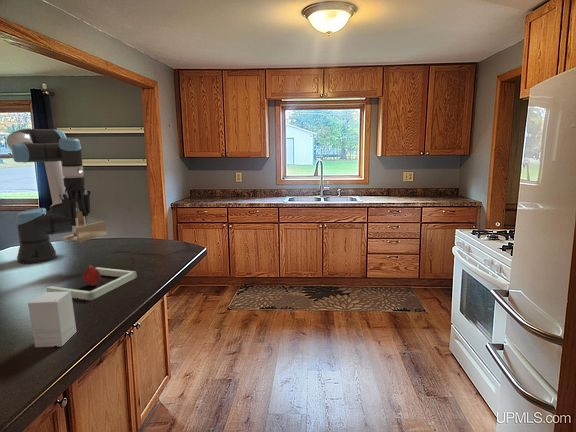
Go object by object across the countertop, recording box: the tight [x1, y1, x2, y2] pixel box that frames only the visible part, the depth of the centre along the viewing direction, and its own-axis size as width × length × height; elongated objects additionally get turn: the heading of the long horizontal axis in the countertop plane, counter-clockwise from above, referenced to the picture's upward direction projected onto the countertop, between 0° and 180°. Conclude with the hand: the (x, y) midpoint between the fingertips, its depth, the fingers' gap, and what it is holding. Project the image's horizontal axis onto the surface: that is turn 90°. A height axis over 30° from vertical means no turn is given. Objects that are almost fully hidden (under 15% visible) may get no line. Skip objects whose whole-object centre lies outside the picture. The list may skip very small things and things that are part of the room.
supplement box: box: [27, 291, 78, 348], centre depth 97 cm, size 7×7×13 cm
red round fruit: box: [82, 265, 102, 287], centre depth 136 cm, size 6×6×8 cm
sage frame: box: [46, 266, 138, 301], centre depth 137 cm, size 20×23×2 cm
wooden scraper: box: [62, 211, 108, 243], centre depth 153 cm, size 11×14×11 cm
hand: (79, 231), depth 154 cm, fingers closed on wooden scraper, 3 cm apart
